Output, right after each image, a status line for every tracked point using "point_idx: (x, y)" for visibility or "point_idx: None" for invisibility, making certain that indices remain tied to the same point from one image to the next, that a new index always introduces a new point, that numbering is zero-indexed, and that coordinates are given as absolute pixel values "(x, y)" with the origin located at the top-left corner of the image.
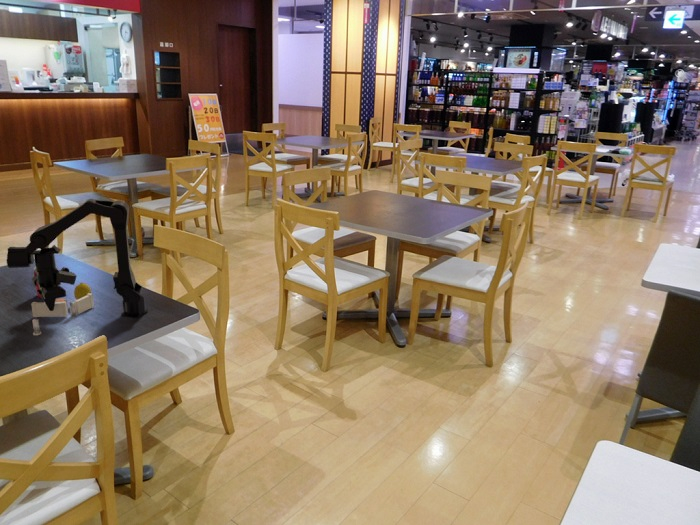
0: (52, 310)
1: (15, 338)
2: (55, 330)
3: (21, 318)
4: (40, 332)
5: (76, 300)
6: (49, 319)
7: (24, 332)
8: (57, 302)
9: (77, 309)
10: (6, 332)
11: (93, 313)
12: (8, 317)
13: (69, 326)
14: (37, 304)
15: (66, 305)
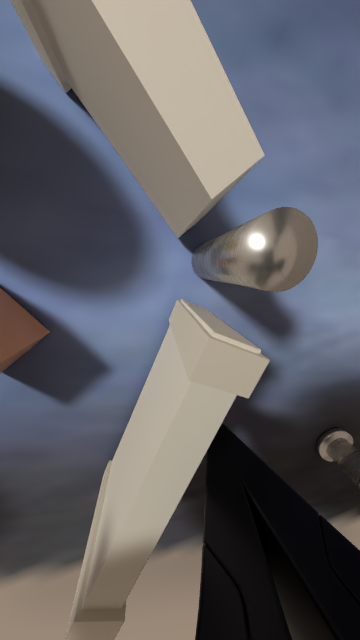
0: (221, 429)
1: (317, 502)
2: (345, 375)
3: None
4: (343, 436)
5: (204, 153)
6: None
7: None
8: (179, 436)
9: (205, 213)
10: None
11: None
12: (66, 560)
13: (345, 308)
14: (130, 585)
15: (206, 320)
